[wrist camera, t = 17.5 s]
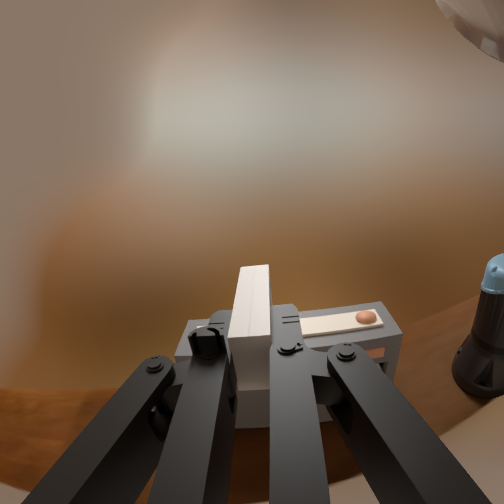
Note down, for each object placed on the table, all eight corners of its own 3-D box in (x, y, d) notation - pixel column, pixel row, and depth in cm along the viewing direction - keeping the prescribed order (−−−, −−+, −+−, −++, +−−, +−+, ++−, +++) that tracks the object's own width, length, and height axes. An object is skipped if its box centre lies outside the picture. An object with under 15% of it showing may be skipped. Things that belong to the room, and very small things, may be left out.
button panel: (371, 375, 48) (381, 297, 42) (385, 411, 39) (404, 330, 33) (208, 391, 50) (187, 316, 44) (200, 429, 41) (172, 352, 36)
